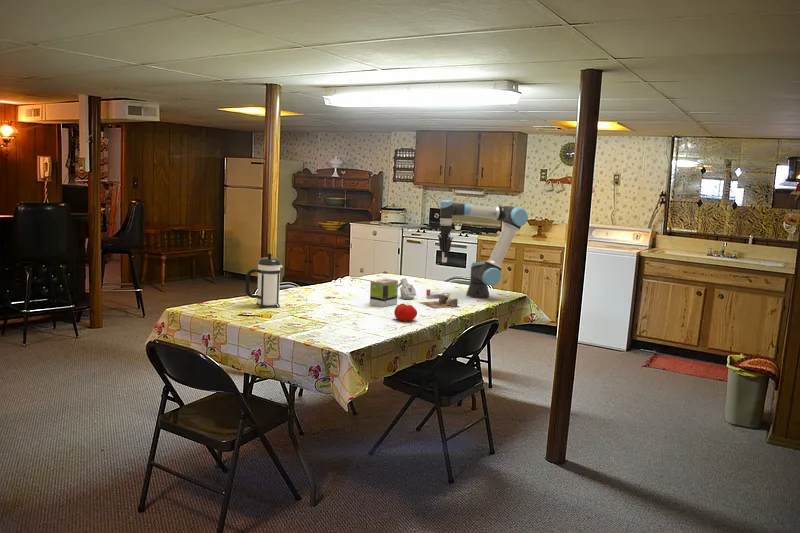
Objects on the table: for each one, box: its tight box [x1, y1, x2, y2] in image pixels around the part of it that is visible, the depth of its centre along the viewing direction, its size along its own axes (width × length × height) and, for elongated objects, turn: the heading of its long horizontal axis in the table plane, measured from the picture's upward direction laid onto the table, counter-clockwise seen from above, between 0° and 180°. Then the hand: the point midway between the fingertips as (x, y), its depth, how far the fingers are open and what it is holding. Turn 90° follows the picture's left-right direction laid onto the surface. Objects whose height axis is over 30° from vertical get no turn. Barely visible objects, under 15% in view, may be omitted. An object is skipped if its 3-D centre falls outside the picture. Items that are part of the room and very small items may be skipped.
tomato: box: [393, 303, 418, 322], centre depth 339 cm, size 13×12×8 cm
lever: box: [425, 288, 451, 304], centre depth 381 cm, size 17×5×8 cm, turn 123°
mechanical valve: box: [398, 277, 417, 300], centre depth 404 cm, size 10×18×15 cm
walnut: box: [446, 298, 451, 306], centre depth 379 cm, size 4×4×4 cm
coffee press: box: [245, 252, 284, 309], centre depth 351 cm, size 17×16×30 cm
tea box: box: [369, 278, 399, 308], centre depth 377 cm, size 15×10×15 cm, turn 145°
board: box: [417, 298, 461, 310], centre depth 381 cm, size 20×18×6 cm
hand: (444, 262), depth 397 cm, fingers closed
